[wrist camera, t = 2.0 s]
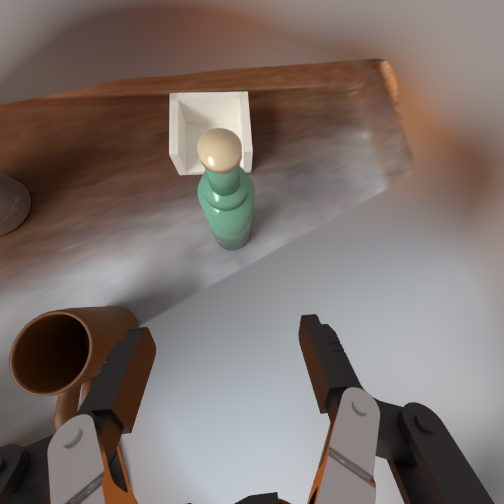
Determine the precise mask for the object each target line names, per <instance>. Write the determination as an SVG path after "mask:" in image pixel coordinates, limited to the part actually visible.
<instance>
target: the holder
mask: <svg viewBox="0 0 504 504" xmlns="http://www.w3.org/2000/svg"><path fill="white" fill-rule="evenodd" d="M215 128H224V129H228V130H230V131H232V132H234V133H235V134H236V135H237V136H238V137H239V139H240V141H241V145H242V159H241V162H240V167H241V168H242V169H243V170H244V171H245V172H246V173H247V172H251V168H252V154H253V149H252V138H251V126H250V114H249V102H248V92H201V93H170V119H169V155H170V157H171V159H172V161H173V163H174V165H175V167H176V169H177V171H178V173H179V175H196V174H203V173H204V172H205V167H204V166H203V165H202V163H201V161H200V157H199V154H198V150H197V144H198V141H199V139H200V137H201V136H202V135H203V134H204V133H205V132H207V131H209V130H211V129H215Z"/></svg>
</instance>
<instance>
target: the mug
mask: <svg viewBox="0 0 504 504" xmlns="http://www.w3.org/2000/svg"><path fill="white" fill-rule="evenodd" d="M131 328H139V326H138V323H137V320H136V318H135V317H134V316H133V315H132V314H131V313H130V312H129V311H128V310H126V309H123V308H120V307H113V306H107V307H83V308H68V309H63V310H56V311H50V312H47V313H44V314H42V315H40V316H38V317H37V318H35V319H33V320H32V321H31V322H29V323H28V324H27V325H26V326H25V327H24V328H23V329H22V330H21V331H20V333H19V334H18V336H17V337H16V339H15V341H14V343H13V346H12V348H11V352H10V358H9V366H10V372H11V375H12V377H13V380H14V381H15V383H16V384H17V385H18V386H19V387H20V388H21V389H22V390H23V391H25V392H27V393H29V394H32V395H36V396H53V395H57V394H58V400H57V405H56V410H55V415H54V424H55V429H56V432H57V431H58V429H59V428H60V427H61V426H62V425H63V424H65V423H66V422H67V421H68V420H70V419H72V418H73V417H75V415H76V414H77V410H78V404H79V397H80V390H81V386H82V384H83V386H82V403H83V401H84V399H85V397H86V395H87V393H88V391H89V390H90V388H91V386H92V384H93V382H94V380H95V378H96V376H97V374H98V373H99V370H100V368H101V366H102V364H104V360H105V358H106V357H107V355H108V353H109V351H110V350H111V348H112V347H113V346H114V345H115V344H116V343H117V342H118V341H119V340H124V339H125V337H126V335H127V333H128V331H129V330H130V329H131Z"/></svg>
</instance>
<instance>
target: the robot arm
mask: <svg viewBox="0 0 504 504" xmlns="http://www.w3.org/2000/svg"><path fill="white" fill-rule="evenodd" d="M30 207H31V196H30V193H29V191H28V189H27V188H26V187H25V186H24V185H23V184H22V183H20V182H18V181H16V180H14V179H13V178H11V177H9V176H7V175H5V174H3V173H1V172H0V235H4V234H6V233H8V232H11V231H12V230H14V229H15V228H17V227H18V226H19V225H20V224H21V223H22V222H23V221H24V220H25V218H26V217H27V215H28V213H29V211H30ZM299 342H300V346H301V350H302V353H303V357H304V360H305V363H306V367H307V370H308V373H309V376H310V379H311V383H312V386H313V390H314V393H315V396H316V400H317V403H318V407H319V410H320V413H321V414H323V413H328V416H329V419H330V422H331V423H330V426H329V430H328V433H327V437H326V441H325V445H324V448H323V452H322V456H321V459H320V463H319V466H318V470H317V473H316V476H315V479H314V482H313V486H312V489H311V492H310V496H309V500H308V503H307V504H375V499H376V485H375V481H374V479H373V472H374V463H375V456H378V457H381V458H384V459H387V461H388V464H389V466H390V469H391V471H392V474H393V476H394V479H395V481H396V484H397V486H398V488H399V491H400V493H401V496H402V498H403V501H404V503H405V504H494V502H493V501H492V499H491V498H490V496H489V495H488V493H487V491H486V490H485V488H484V487H483V485H482V483H481V482H480V480H479V479H478V477H477V476H476V474H475V472H474V471H473V469H472V468H471V467H470V465H469V463H468V462H467V460H466V458H465V457H464V455H463V454H462V452H461V450H460V449H459V447H458V446H457V444H456V443H455V441H454V439H453V438H452V436H451V435H450V433H449V432H448V430H447V429H446V427H445V425H444V424H443V422H442V421H441V419H440V418H439V417H438V416H437V415H436V414H435V413H434V412H433V411H432V410H430V409H429V408H428V407H426V406H424V405H422V404H419V403H408V404H406V405H405V406H404V407H401V406H397V405H393V404H389V403H385V402H382V401H379V400H377V399H375V398H373V397H372V396H371V395H370V394H368V393H367V392H366V391H365V390H364V389H363V387H362V386H361V384H360V382H359V380H358V378H357V376H356V374H355V372H354V370H353V368H352V366H351V364H350V362H349V360H348V357H347V356H346V353H345V352H344V349H343V347H342V345H341V344H340V341H339V339H338V337H337V334H336V332H335V331H334V330H333V329H332V328H331V327H330V326H329V325H328V324H321V323H320V321H319V318H318V316H317V315H316V314H313V315H302V316H301V321H300V327H299ZM155 355H156V345H155V343H154V340H153V338H152V336H151V333H150V331H149V329H148V328H147V327H141V328H131V329H130V330H129V331H128V333H127V335H126V337H125V339H124V340H119V341H118V342H117V343H116V344H115V345H114V346H113V347H112V348H111V350H110V351H109V353H108V355H107V357H106V358H105V360H104V364H102V366H101V368H100V370H99V373H98V374H97V376H96V378H95V380H94V382H93V384H92V386H91V388H90V390H89V391H88V393H87V395H86V397H85V399H84V401H83V403H82V405H81V407H80V409H79V411H78V412H77V414H76V415H75V417H73V418H72V419H70V420H68V421H67V422H66V423H65V424H63V425H62V426H61V427H60V428H59V429H58V431H57V432H56V433H55V434H53V435H51V436H49V437H47V438H44V439H42V440H40V441H37V442H35V443H33V444H31V445H28V446H26V447H24V448H22V447H20V446H18V445H17V444H8V445H5V446H2V447H0V504H138V502H137V501H136V499H135V497H134V495H133V493H132V490H131V487H130V483H129V480H128V476H127V473H126V469H125V466H124V462H123V459H122V455H121V452H120V448H119V445H118V443H119V440H120V437H121V434H126V433H131V432H132V429H133V426H134V422H135V419H136V416H137V413H138V409H139V406H140V403H141V400H142V397H143V394H144V390H145V387H146V384H147V381H148V378H149V375H150V371H151V368H152V365H153V362H154V359H155ZM188 504H191V503H188ZM235 504H291V503H289V502H287V501H284V500H282V499H279V498H278V495H277V492H274V493H267V494H258V495H251V496H248V497H246V498H244V499H242V500H241V501H239V502H237V503H235Z"/></svg>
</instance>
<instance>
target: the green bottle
mask: <svg viewBox="0 0 504 504" xmlns="http://www.w3.org/2000/svg"><path fill="white" fill-rule="evenodd" d="M197 150H198V154H199V157H200V161H201V163H202V165H203V166H204V167H205V172H204V173H203V175H202V178H201V180H200V182H199V185H198V198H199V201H200V203H201V206H202V208H203V210H204V213H205V215H206V217H207V219H208V222H209V224H210V226H211V229H212V231H213V233H214V236H215V238H216V240H217V242H218V243H219V245H220V246H222V247H223V248H225V249H228V250H237V249H240V248H242V247H243V246H244V245H245V244H246V243H247V241H248V239H249V236H250V227H251V218H252V209H253V201H254V185H253V182H252V180H251V178H250V177H249V176H248V175H247V174H246V172H245V171H244V170H243V169H242V168H241V167H240V162H241V159H242V145H241V141H240V139H239V137H238V136H237V135H236V134H235V133H234V132H232V131H230V130H228V129H224V128H215V129H211V130H209V131H207V132H205V133H204V134H203V135H202V136H201V137H200V139H199V141H198V144H197Z"/></svg>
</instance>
